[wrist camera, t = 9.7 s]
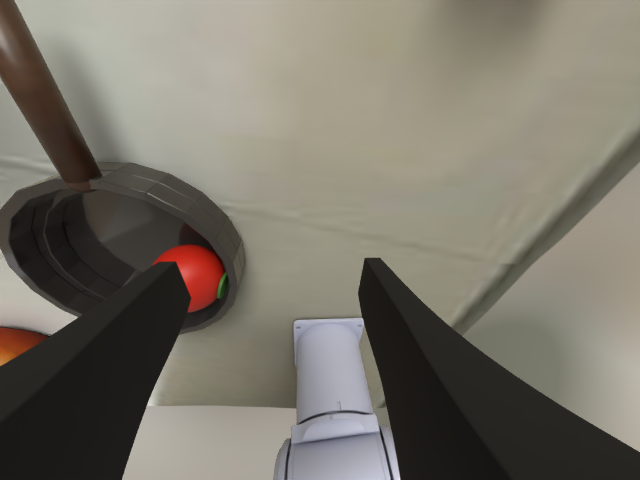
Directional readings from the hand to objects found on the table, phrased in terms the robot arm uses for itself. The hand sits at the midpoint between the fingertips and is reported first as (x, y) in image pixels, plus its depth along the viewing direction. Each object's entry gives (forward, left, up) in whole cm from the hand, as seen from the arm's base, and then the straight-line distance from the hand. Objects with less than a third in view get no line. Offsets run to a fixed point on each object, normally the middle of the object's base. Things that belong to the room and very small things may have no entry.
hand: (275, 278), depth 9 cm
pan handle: (+6, +11, -7) cm, 14 cm away
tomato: (-6, +10, -7) cm, 13 cm away
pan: (-5, +11, -9) cm, 15 cm away
